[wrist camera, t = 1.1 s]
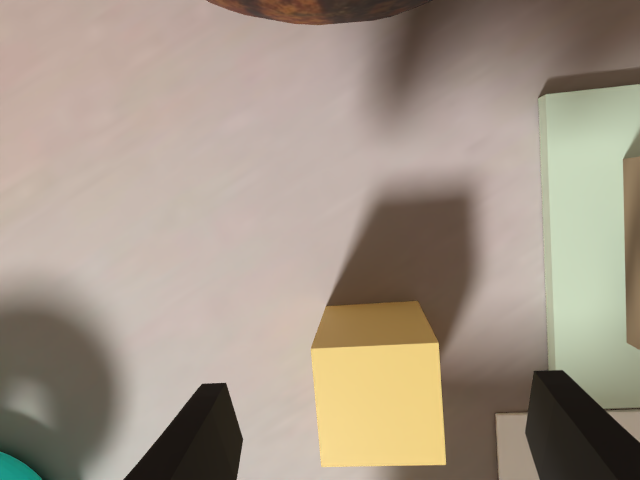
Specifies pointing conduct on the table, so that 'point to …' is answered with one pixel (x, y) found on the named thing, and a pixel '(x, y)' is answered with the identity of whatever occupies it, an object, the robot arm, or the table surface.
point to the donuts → (15, 469)
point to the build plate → (589, 238)
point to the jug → (319, 9)
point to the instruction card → (514, 449)
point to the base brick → (632, 248)
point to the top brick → (378, 386)
